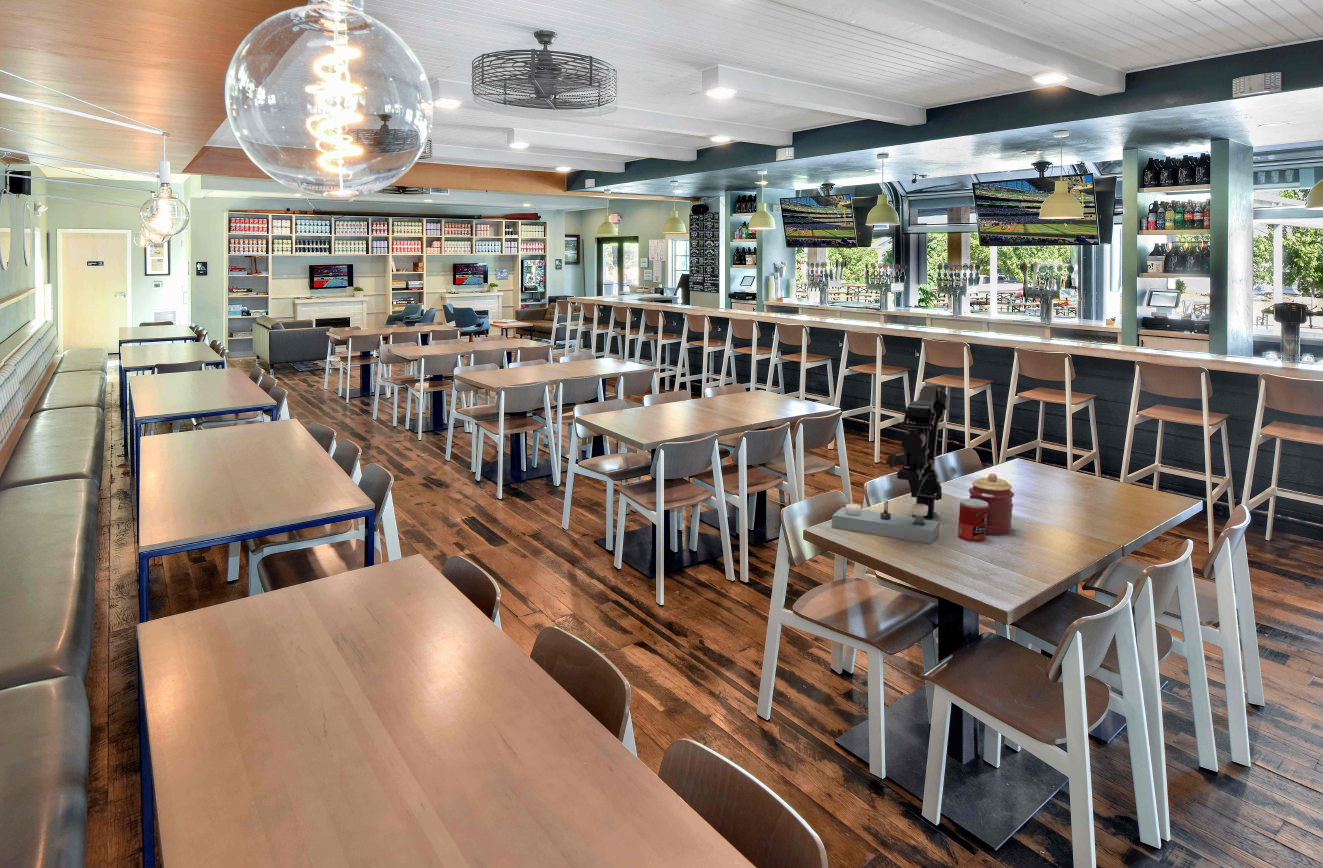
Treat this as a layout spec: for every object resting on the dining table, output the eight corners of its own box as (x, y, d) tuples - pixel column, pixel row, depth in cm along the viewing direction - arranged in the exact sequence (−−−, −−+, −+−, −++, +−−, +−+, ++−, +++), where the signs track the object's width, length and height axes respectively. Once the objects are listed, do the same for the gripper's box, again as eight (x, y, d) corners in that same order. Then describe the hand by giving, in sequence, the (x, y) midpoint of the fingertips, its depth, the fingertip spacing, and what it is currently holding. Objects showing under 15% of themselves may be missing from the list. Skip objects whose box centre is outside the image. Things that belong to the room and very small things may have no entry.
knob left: (847, 518, 248) (848, 502, 247) (862, 520, 246) (863, 504, 245) (843, 522, 244) (844, 506, 243) (857, 524, 242) (858, 508, 241)
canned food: (976, 543, 229) (979, 507, 227) (952, 536, 235) (954, 501, 233) (991, 538, 233) (994, 502, 231) (966, 531, 240) (969, 496, 238)
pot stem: (881, 516, 242) (882, 499, 241) (891, 517, 240) (892, 500, 239) (879, 518, 239) (880, 501, 238) (888, 520, 238) (890, 502, 236)
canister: (1015, 537, 235) (1020, 480, 231) (969, 534, 237) (974, 477, 234) (1005, 523, 247) (1010, 469, 244) (962, 521, 250) (966, 467, 246)
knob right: (912, 519, 238) (914, 502, 237) (928, 521, 235) (929, 505, 234) (909, 523, 234) (910, 506, 233) (925, 525, 231) (926, 508, 230)
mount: (842, 518, 252) (842, 506, 251) (938, 534, 237) (939, 521, 236) (831, 527, 244) (832, 515, 243) (931, 543, 229) (932, 530, 228)
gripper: (899, 437, 243) (896, 486, 246) (880, 448, 227) (877, 500, 230) (936, 441, 237) (932, 491, 240) (919, 453, 221) (916, 506, 225)
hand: (914, 497), depth 234 cm, fingers closed
